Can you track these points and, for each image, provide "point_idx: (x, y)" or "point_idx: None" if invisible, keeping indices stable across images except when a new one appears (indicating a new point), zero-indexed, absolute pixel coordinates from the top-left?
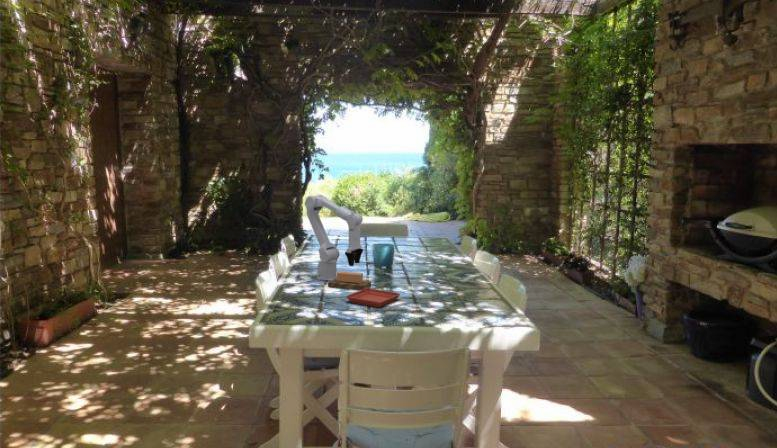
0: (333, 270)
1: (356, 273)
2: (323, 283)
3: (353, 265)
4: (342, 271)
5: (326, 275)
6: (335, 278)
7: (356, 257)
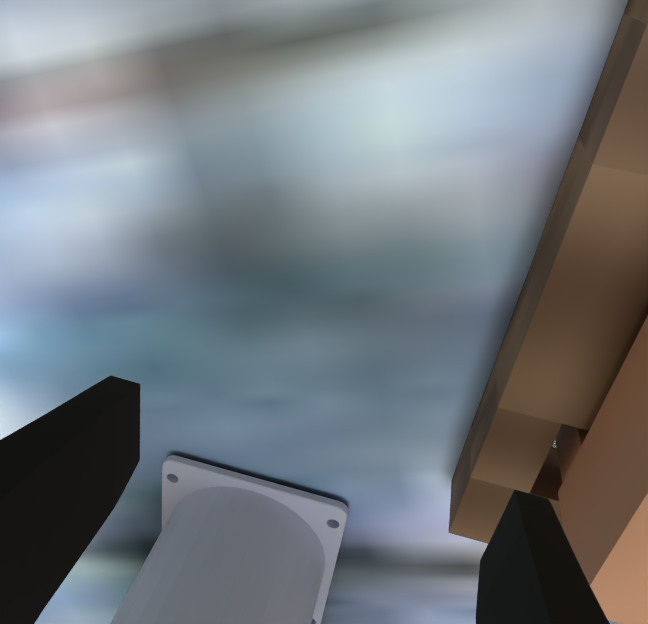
0: (263, 610)
1: None
2: (475, 582)
3: (521, 499)
4: (599, 578)
5: (313, 611)
6: (455, 531)
7: (43, 550)
